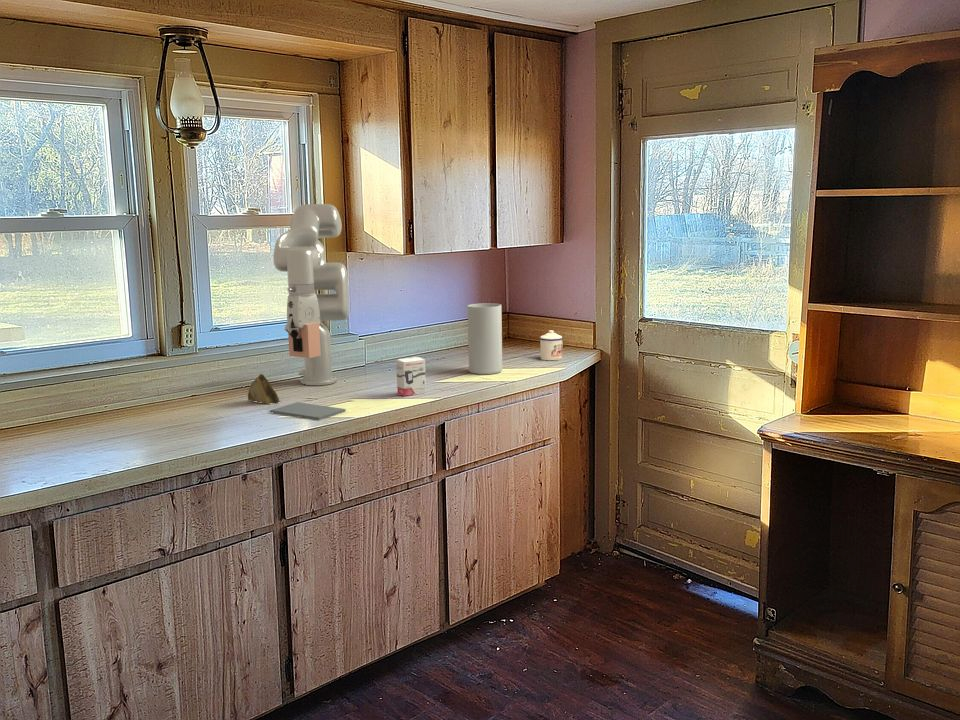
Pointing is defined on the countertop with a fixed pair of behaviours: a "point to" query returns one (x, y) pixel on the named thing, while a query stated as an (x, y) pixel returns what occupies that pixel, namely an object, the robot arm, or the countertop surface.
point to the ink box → (411, 376)
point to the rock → (262, 391)
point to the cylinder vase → (485, 338)
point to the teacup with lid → (551, 346)
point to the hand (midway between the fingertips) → (304, 349)
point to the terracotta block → (307, 342)
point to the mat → (308, 410)
